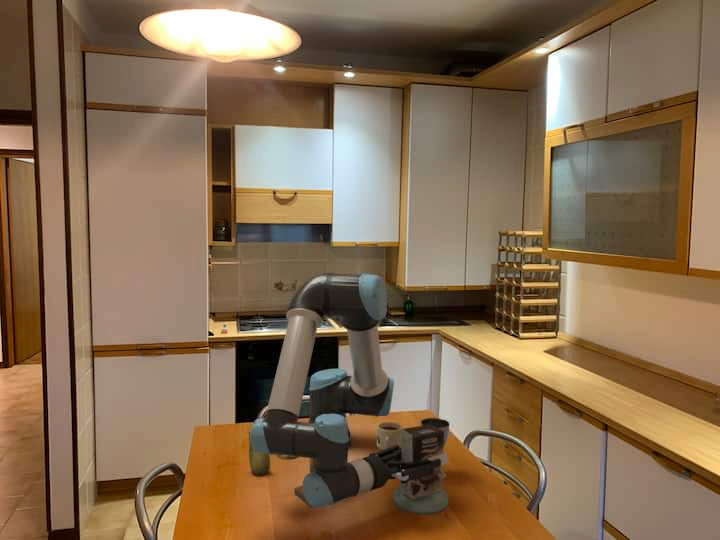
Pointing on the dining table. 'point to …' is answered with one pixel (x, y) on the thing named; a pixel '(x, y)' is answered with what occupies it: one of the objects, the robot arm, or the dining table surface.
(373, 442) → the dining table surface
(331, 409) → the robot arm
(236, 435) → the dining table surface
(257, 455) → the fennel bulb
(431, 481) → the coffee box
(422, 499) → the dish
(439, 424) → the wine glass
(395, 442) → the character mug
